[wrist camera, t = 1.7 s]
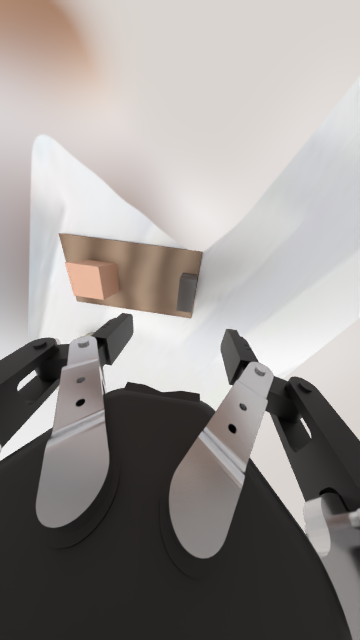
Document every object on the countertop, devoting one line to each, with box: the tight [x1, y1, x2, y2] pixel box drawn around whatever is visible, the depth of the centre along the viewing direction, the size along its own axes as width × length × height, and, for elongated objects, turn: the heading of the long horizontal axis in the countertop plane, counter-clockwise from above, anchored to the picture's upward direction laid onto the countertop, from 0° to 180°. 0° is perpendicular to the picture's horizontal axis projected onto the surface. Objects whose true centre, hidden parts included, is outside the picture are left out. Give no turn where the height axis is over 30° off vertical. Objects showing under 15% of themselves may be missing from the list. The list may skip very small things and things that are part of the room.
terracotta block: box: [65, 260, 119, 300], centre depth 23 cm, size 5×5×5 cm
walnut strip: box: [59, 233, 202, 318], centre depth 23 cm, size 24×12×6 cm, turn 84°
